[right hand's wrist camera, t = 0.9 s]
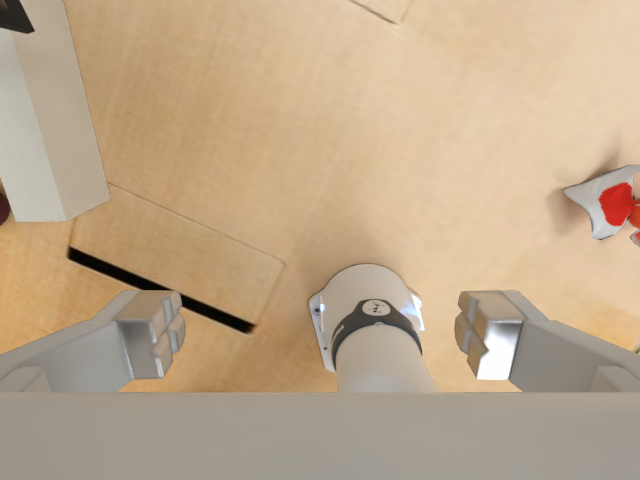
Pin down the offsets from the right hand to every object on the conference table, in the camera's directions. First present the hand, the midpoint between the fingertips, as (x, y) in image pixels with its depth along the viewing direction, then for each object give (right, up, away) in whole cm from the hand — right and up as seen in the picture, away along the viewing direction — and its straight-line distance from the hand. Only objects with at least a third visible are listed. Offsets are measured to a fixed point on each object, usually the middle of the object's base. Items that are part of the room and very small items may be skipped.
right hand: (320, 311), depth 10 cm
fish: (+42, +8, +43) cm, 61 cm away
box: (-35, +20, +38) cm, 55 cm away
